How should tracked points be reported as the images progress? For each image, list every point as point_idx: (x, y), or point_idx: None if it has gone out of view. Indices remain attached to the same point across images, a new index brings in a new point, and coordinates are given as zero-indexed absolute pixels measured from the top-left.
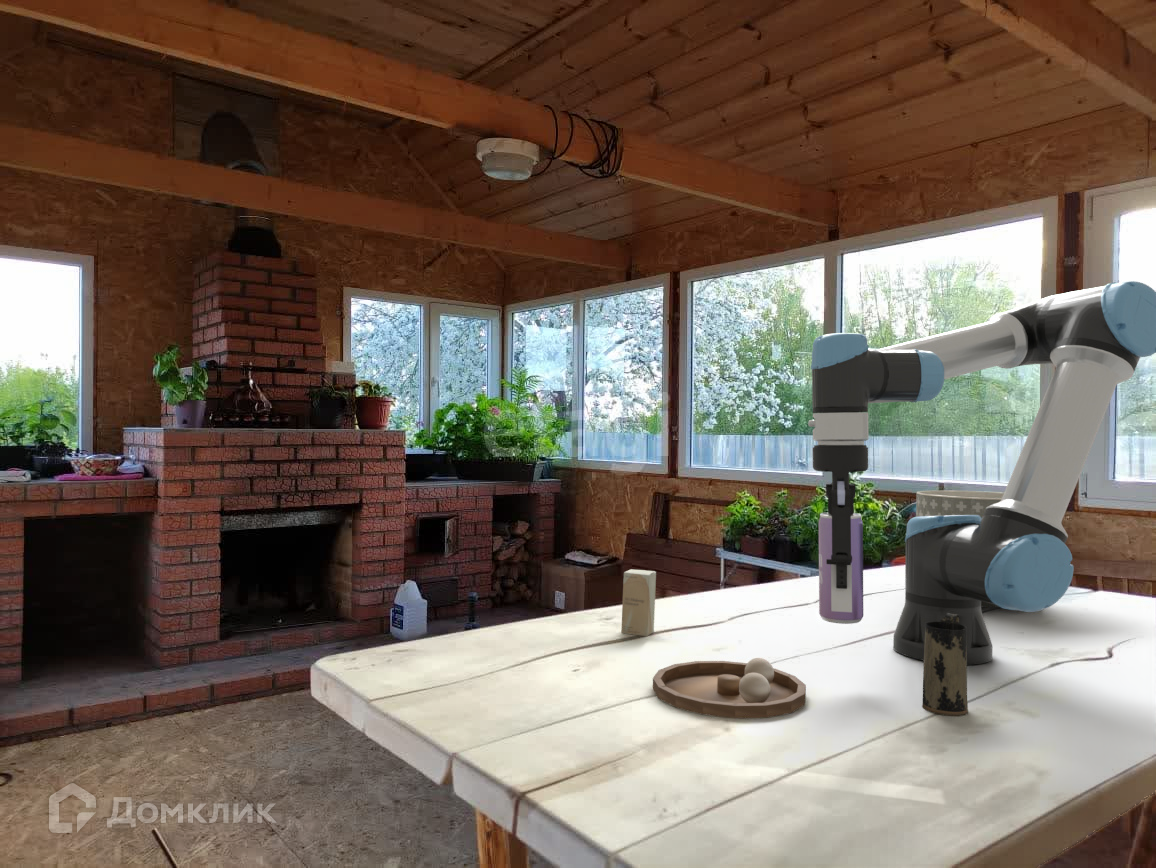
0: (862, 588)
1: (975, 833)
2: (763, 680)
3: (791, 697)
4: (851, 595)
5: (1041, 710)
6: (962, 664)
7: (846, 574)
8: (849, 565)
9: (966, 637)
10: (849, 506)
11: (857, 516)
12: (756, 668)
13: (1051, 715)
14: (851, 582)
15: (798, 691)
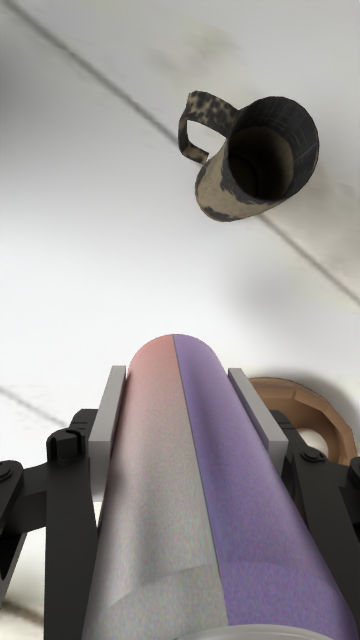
0: (202, 363)
1: None
2: (323, 448)
3: (316, 404)
4: (253, 388)
5: (190, 13)
6: (281, 144)
7: (300, 437)
8: (285, 445)
9: (287, 111)
10: None
11: None
12: None
13: (214, 3)
14: (265, 407)
15: (287, 396)
